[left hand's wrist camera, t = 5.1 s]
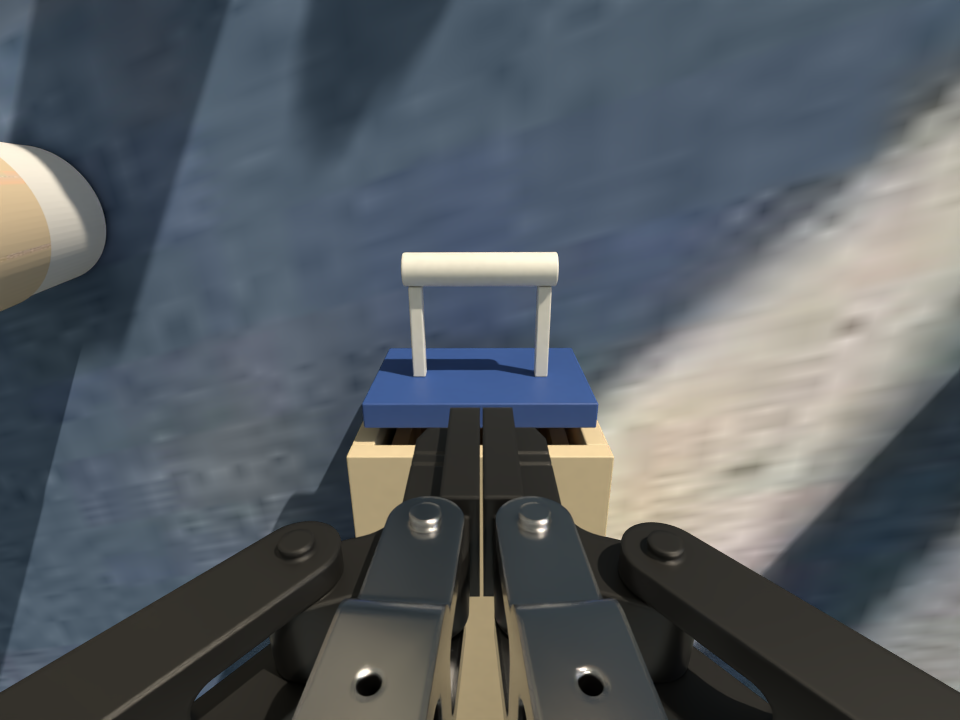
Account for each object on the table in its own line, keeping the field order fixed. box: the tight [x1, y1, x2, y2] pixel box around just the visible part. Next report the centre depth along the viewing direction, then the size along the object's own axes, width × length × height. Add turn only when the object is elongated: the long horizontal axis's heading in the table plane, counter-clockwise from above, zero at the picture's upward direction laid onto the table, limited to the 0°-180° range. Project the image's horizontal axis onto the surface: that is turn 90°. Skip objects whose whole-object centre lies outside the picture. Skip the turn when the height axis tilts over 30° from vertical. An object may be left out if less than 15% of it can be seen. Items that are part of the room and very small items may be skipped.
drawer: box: [362, 252, 598, 445], centre depth 27 cm, size 23×10×7 cm, turn 0°
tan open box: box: [346, 421, 614, 720], centre depth 29 cm, size 19×11×9 cm, turn 0°
